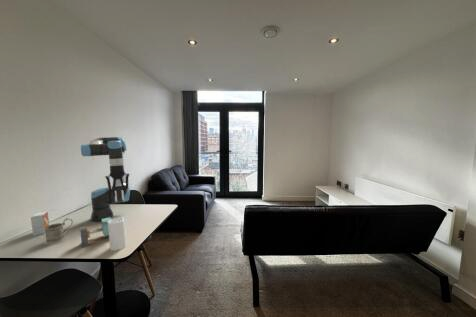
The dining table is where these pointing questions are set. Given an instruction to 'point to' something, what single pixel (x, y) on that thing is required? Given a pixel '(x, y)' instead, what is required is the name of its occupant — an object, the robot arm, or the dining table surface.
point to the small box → (39, 223)
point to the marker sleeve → (105, 226)
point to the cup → (117, 233)
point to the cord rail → (86, 234)
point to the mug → (55, 233)
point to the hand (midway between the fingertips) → (119, 200)
